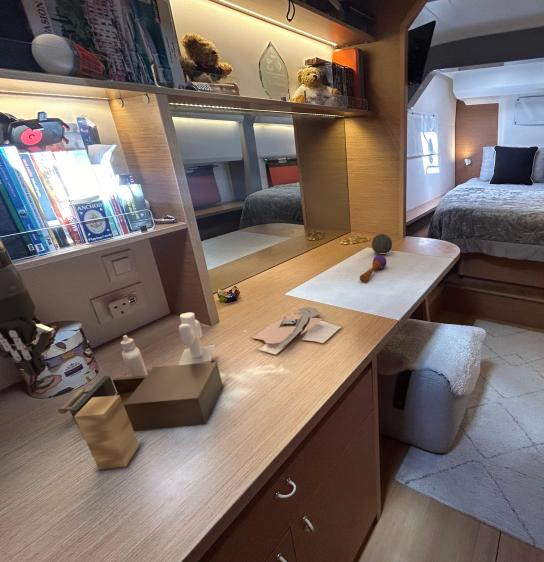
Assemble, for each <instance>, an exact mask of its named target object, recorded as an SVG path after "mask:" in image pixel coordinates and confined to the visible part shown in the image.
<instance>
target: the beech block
mask: <svg viewBox="0 0 544 562" xmlns="http://www.w3.org/2000/svg"><path fill="white" fill-rule="evenodd" d="M74 418H75V420H76V422H77V424H78V427H79V429H80V430H79V429H78V430H79V431H80V433H81V435H82V437H83V439H84V442H85V443H86V446H87V448H88V451H89V452H90V454H91V456H92V458H93V461H94V462H95V465H96V466H97V468H98V470H105V469H106V470H107V469H117V468H126V467H127V466H128V464H129V463H130V461H131V460H132V458H133V456H134V455H135V454H136V452H137V450H138V449H139V448H140V443H139V441H138V437H137V435H136V433H135V430H133V427H132V425H131V422H130V420H129V418H128V415H127V413H126V410H125V407H124V405H123V402H122V400H121V397H120V395H116V394H115V395H114V396H104V397H92V398H91V399H90V400H89V401H88V403H87V404H86V405H85V406H84V407H83V408H82V409H81V410H80V411H79V412H78V413H77V414H76V415H75V416H74ZM74 418H73V419H74ZM78 427H77V428H78Z"/></svg>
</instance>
